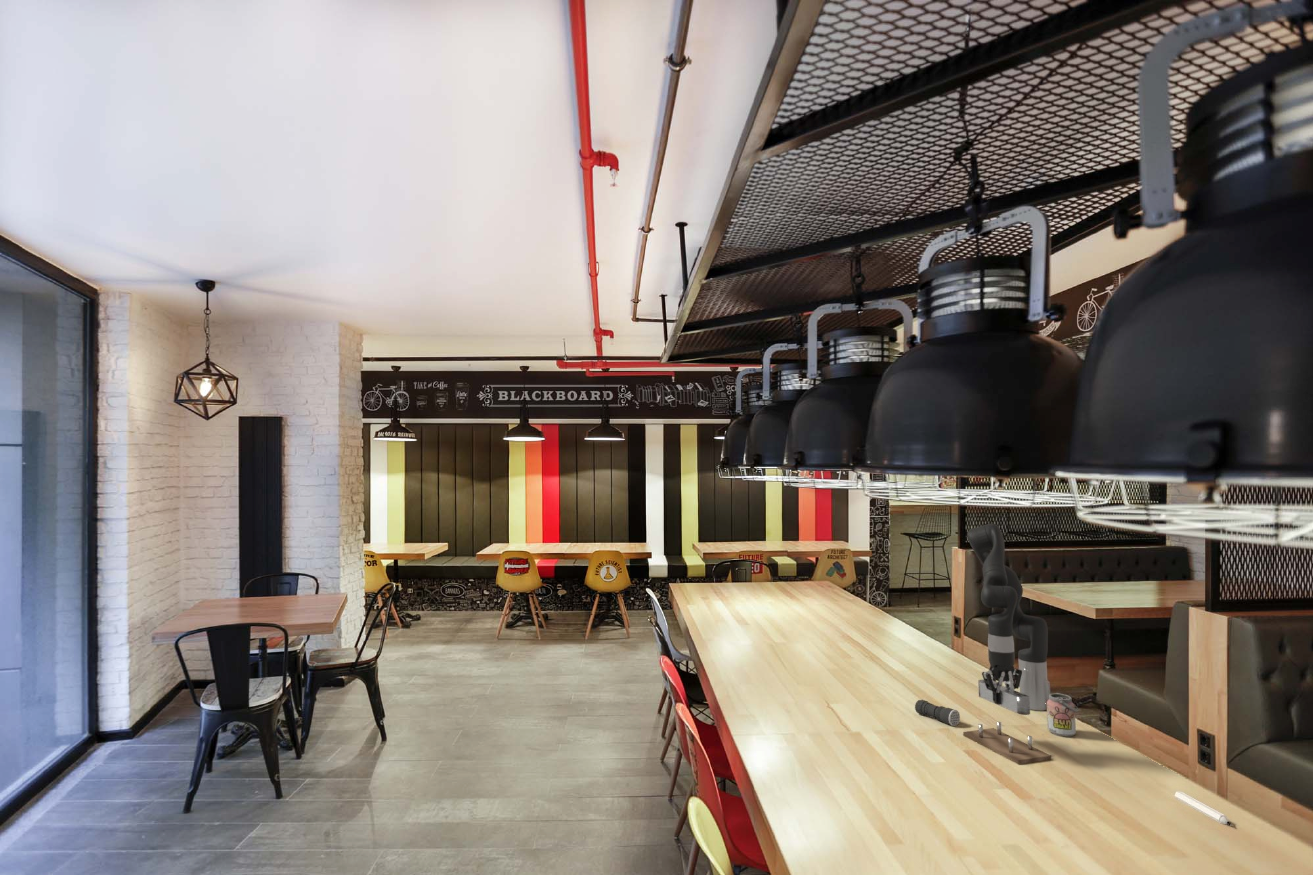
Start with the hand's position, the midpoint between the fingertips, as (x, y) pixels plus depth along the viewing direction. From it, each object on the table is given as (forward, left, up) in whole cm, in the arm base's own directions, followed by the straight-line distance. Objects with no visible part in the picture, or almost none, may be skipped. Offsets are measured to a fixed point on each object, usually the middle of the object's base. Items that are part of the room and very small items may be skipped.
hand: (1003, 702), depth 222 cm
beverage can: (-27, -4, -14) cm, 31 cm away
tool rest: (0, 0, -14) cm, 14 cm away
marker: (-16, +50, -14) cm, 55 cm away
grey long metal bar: (0, 0, -1) cm, 1 cm away
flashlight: (+4, -28, -14) cm, 31 cm away
